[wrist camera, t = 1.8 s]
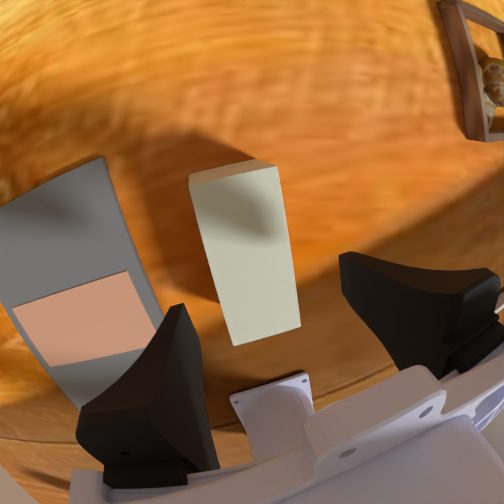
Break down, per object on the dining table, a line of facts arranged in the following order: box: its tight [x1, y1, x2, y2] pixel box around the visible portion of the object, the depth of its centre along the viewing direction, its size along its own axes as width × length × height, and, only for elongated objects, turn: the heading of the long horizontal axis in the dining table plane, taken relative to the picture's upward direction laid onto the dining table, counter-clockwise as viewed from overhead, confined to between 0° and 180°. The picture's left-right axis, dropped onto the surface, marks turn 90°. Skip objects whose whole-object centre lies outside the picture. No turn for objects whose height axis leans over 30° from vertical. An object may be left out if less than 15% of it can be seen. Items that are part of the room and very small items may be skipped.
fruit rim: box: [437, 0, 504, 142], centre depth 17 cm, size 15×15×2 cm
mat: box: [0, 157, 205, 411], centre depth 20 cm, size 22×14×1 cm, turn 13°
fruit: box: [479, 57, 504, 129], centre depth 17 cm, size 8×8×4 cm
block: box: [188, 159, 301, 346], centre depth 18 cm, size 10×4×5 cm, turn 11°
